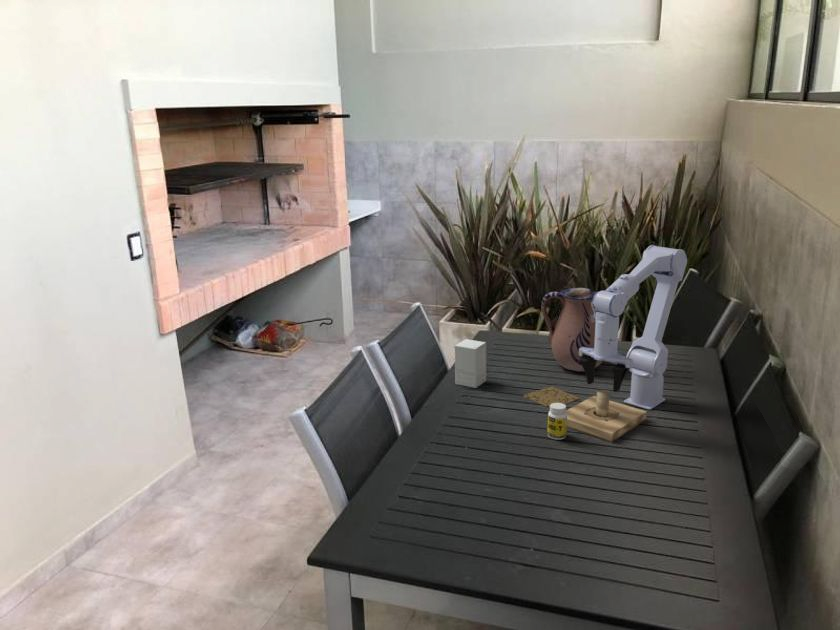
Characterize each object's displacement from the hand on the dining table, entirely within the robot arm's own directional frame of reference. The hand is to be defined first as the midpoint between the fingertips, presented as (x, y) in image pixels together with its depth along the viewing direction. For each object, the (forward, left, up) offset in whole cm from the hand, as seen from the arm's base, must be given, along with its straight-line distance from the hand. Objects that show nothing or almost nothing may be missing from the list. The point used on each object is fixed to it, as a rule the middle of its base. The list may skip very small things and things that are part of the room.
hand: (603, 386), depth 179 cm
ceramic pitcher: (-30, -28, -10) cm, 42 cm away
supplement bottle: (+15, -4, -10) cm, 19 cm away
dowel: (0, 0, -9) cm, 9 cm away
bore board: (0, 0, -10) cm, 10 cm away
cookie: (-5, -19, -10) cm, 22 cm away
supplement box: (+2, -44, -10) cm, 45 cm away
